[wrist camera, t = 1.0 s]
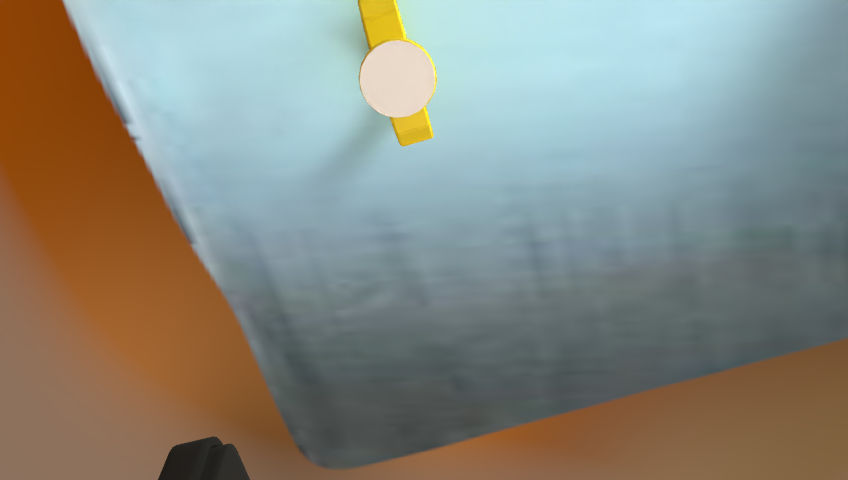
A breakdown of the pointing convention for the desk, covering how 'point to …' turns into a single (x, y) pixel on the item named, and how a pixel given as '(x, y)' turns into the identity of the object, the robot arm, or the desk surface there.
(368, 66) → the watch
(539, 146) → the desk surface
